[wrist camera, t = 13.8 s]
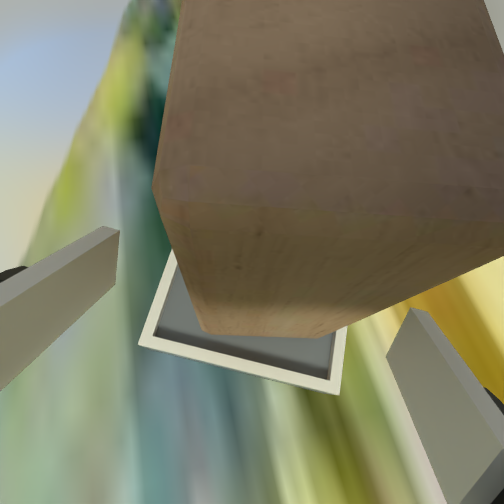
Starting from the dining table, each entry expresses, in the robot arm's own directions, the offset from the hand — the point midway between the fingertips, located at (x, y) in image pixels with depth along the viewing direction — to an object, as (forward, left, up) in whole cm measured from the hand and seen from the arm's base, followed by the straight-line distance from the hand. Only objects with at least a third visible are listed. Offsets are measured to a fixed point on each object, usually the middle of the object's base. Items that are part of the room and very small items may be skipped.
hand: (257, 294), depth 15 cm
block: (-1, -5, -12) cm, 13 cm away
